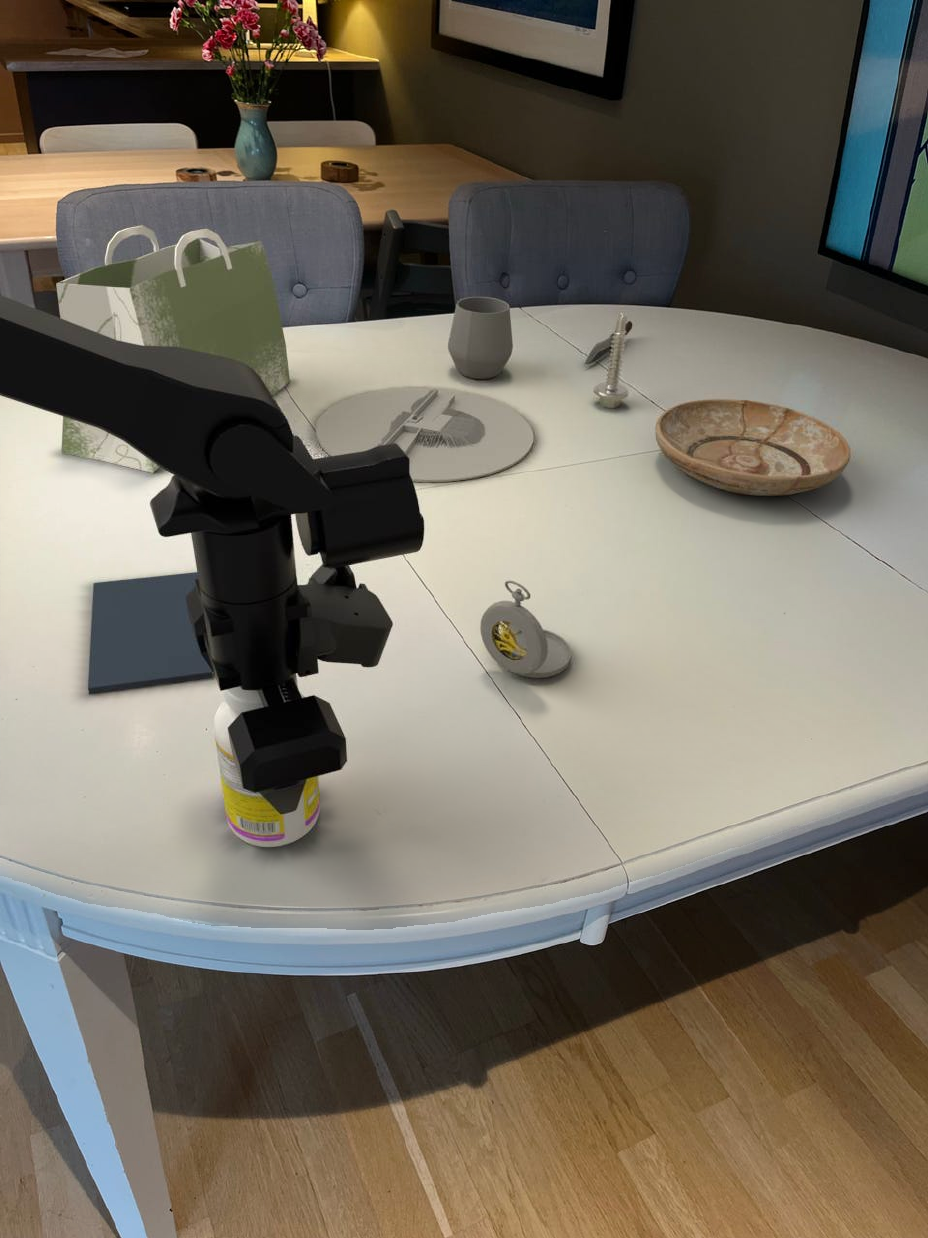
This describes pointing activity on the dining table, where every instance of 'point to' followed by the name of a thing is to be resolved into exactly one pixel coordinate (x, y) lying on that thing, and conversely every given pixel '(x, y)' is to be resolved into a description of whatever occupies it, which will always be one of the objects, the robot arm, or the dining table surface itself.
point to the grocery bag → (177, 316)
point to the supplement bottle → (252, 810)
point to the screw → (614, 368)
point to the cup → (481, 337)
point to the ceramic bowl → (751, 446)
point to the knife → (604, 346)
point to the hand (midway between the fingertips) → (271, 765)
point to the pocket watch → (522, 639)
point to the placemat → (143, 634)
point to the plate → (430, 431)
